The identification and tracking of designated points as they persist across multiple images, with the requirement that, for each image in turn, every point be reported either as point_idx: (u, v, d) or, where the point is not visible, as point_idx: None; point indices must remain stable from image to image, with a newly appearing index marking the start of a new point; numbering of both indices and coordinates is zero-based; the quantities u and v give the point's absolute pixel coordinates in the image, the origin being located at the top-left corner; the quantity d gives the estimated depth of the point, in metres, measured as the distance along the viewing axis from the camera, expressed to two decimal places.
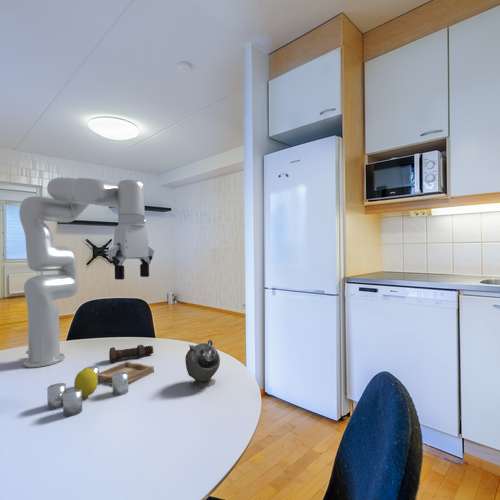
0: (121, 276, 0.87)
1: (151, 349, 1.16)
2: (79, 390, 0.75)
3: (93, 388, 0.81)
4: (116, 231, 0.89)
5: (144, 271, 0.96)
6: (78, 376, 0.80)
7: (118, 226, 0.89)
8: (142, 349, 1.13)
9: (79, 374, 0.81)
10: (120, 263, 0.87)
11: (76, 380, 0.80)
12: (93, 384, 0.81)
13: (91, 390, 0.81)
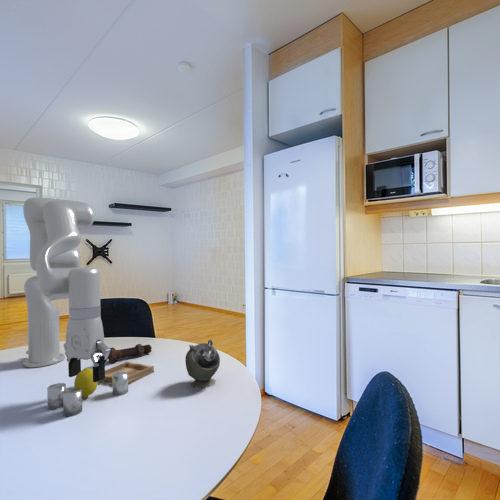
0: None
1: (150, 348, 1.17)
2: (79, 390, 0.75)
3: (93, 388, 0.81)
4: (93, 327, 0.79)
5: (77, 368, 0.84)
6: (78, 376, 0.80)
7: (95, 321, 0.80)
8: (141, 348, 1.15)
9: (79, 374, 0.81)
10: None
11: (76, 380, 0.80)
12: (93, 384, 0.81)
13: (91, 390, 0.81)
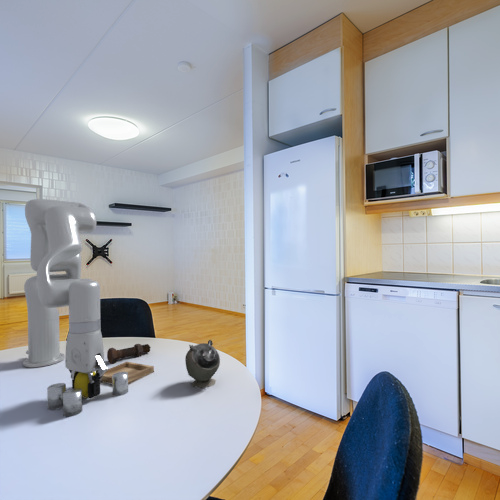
0: None
1: (148, 347, 1.18)
2: (79, 390, 0.75)
3: None
4: (93, 341, 0.79)
5: None
6: (78, 376, 0.80)
7: (95, 335, 0.80)
8: (140, 347, 1.15)
9: (79, 374, 0.81)
10: None
11: (76, 380, 0.80)
12: None
13: None
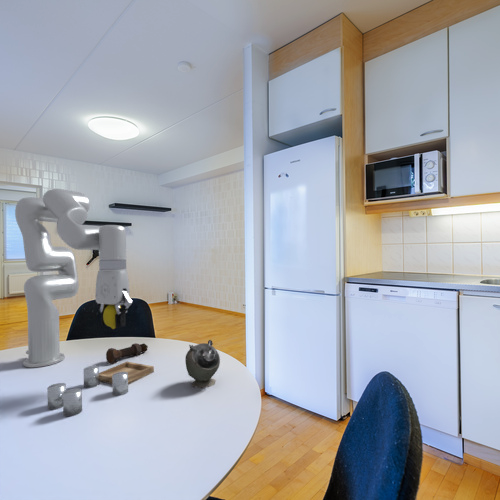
0: None
1: (146, 346, 1.19)
2: (79, 390, 0.75)
3: None
4: (120, 277, 0.89)
5: None
6: (107, 308, 0.91)
7: (121, 272, 0.90)
8: (139, 347, 1.16)
9: (107, 307, 0.91)
10: None
11: (105, 312, 0.90)
12: None
13: None
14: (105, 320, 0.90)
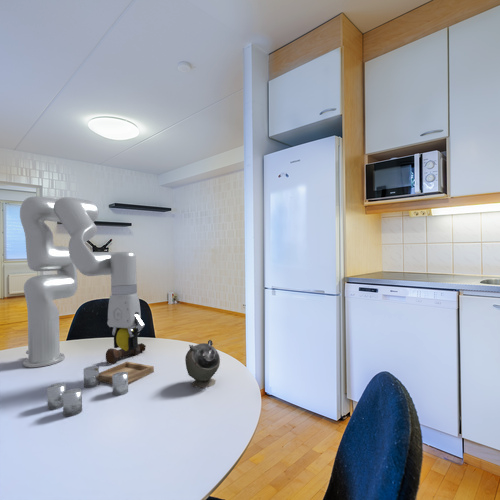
0: None
1: (144, 346, 1.20)
2: (79, 390, 0.75)
3: None
4: (132, 301, 0.94)
5: None
6: (119, 331, 0.95)
7: (133, 296, 0.94)
8: (138, 346, 1.17)
9: (120, 330, 0.95)
10: None
11: (118, 335, 0.94)
12: None
13: None
14: (118, 343, 0.94)
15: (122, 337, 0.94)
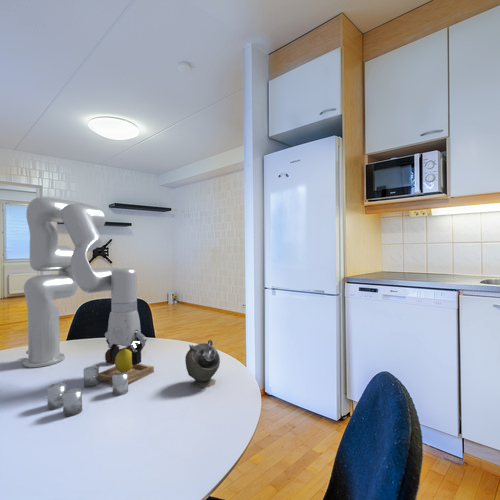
0: None
1: None
2: (79, 390, 0.75)
3: (131, 365, 0.96)
4: (132, 319, 0.94)
5: (116, 354, 0.99)
6: (118, 355, 0.95)
7: (133, 314, 0.94)
8: (136, 346, 1.17)
9: (119, 353, 0.95)
10: None
11: (117, 358, 0.95)
12: (131, 362, 0.96)
13: (129, 367, 0.95)
14: (117, 366, 0.94)
15: (121, 361, 0.94)
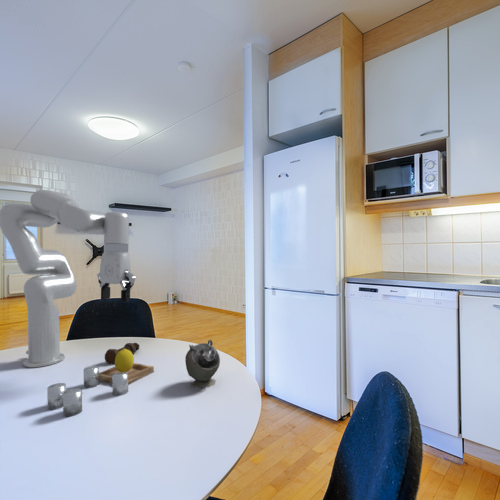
0: (128, 298, 1.01)
1: (138, 345, 1.21)
2: (79, 390, 0.75)
3: (131, 365, 0.96)
4: (123, 259, 0.99)
5: (107, 293, 1.04)
6: (118, 355, 0.95)
7: (124, 254, 1.00)
8: (134, 346, 1.18)
9: (119, 353, 0.95)
10: None
11: (117, 358, 0.95)
12: (131, 362, 0.96)
13: (129, 367, 0.95)
14: (117, 366, 0.94)
15: (121, 361, 0.94)
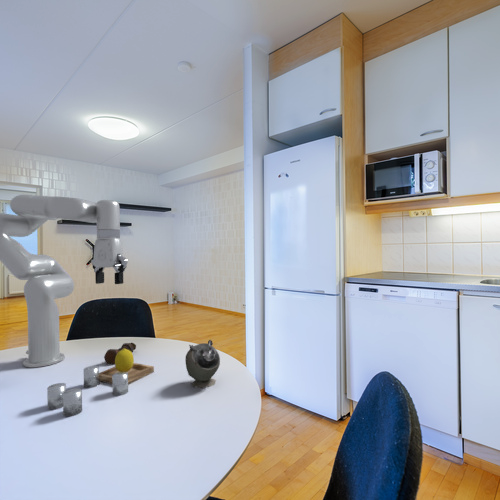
0: (122, 281, 1.07)
1: (135, 345, 1.21)
2: (79, 390, 0.75)
3: (131, 365, 0.96)
4: (115, 243, 1.05)
5: (101, 278, 1.11)
6: (118, 355, 0.95)
7: (116, 239, 1.06)
8: (131, 345, 1.18)
9: (119, 353, 0.95)
10: None
11: (117, 358, 0.95)
12: (131, 362, 0.96)
13: (129, 367, 0.95)
14: (117, 366, 0.94)
15: (121, 361, 0.94)
